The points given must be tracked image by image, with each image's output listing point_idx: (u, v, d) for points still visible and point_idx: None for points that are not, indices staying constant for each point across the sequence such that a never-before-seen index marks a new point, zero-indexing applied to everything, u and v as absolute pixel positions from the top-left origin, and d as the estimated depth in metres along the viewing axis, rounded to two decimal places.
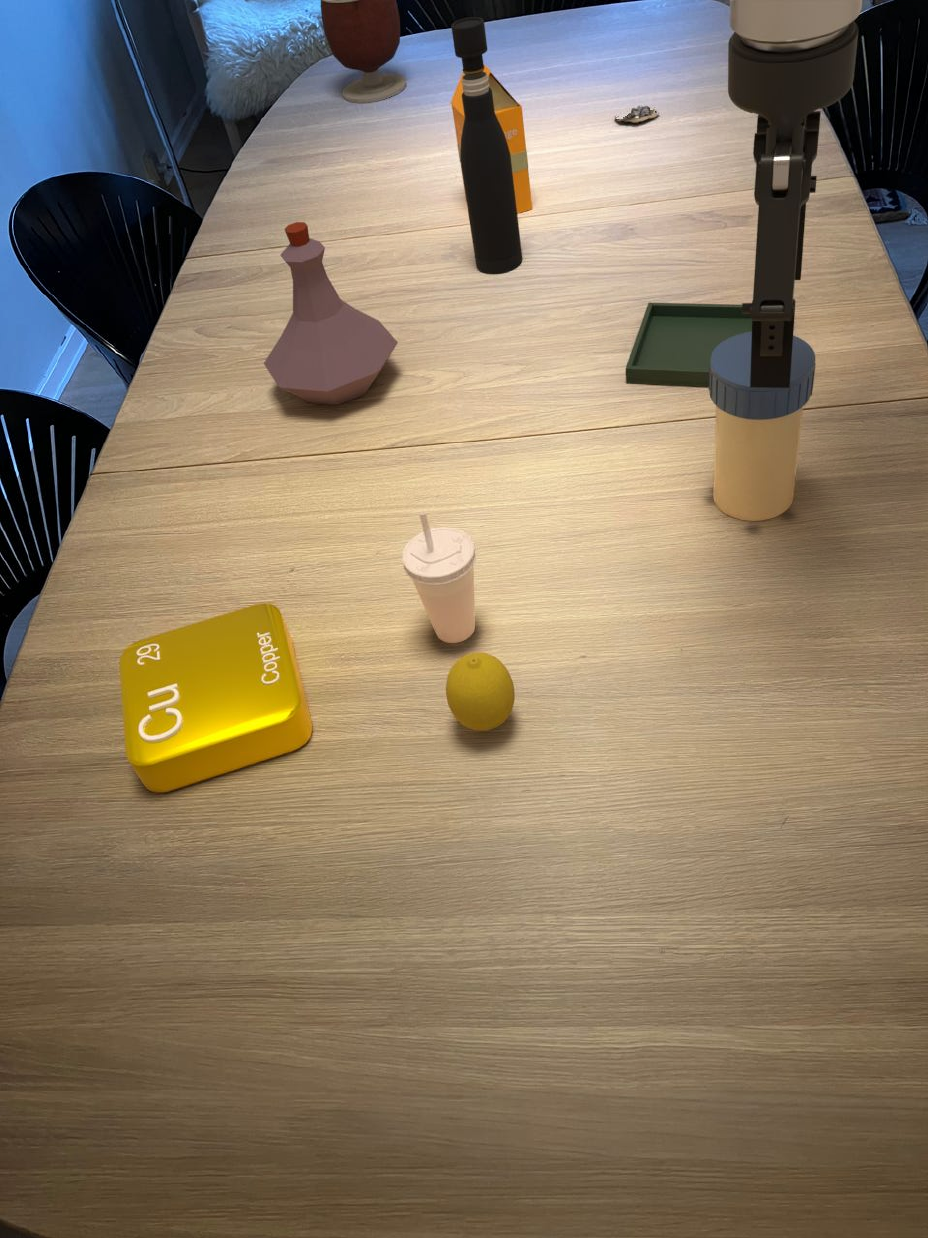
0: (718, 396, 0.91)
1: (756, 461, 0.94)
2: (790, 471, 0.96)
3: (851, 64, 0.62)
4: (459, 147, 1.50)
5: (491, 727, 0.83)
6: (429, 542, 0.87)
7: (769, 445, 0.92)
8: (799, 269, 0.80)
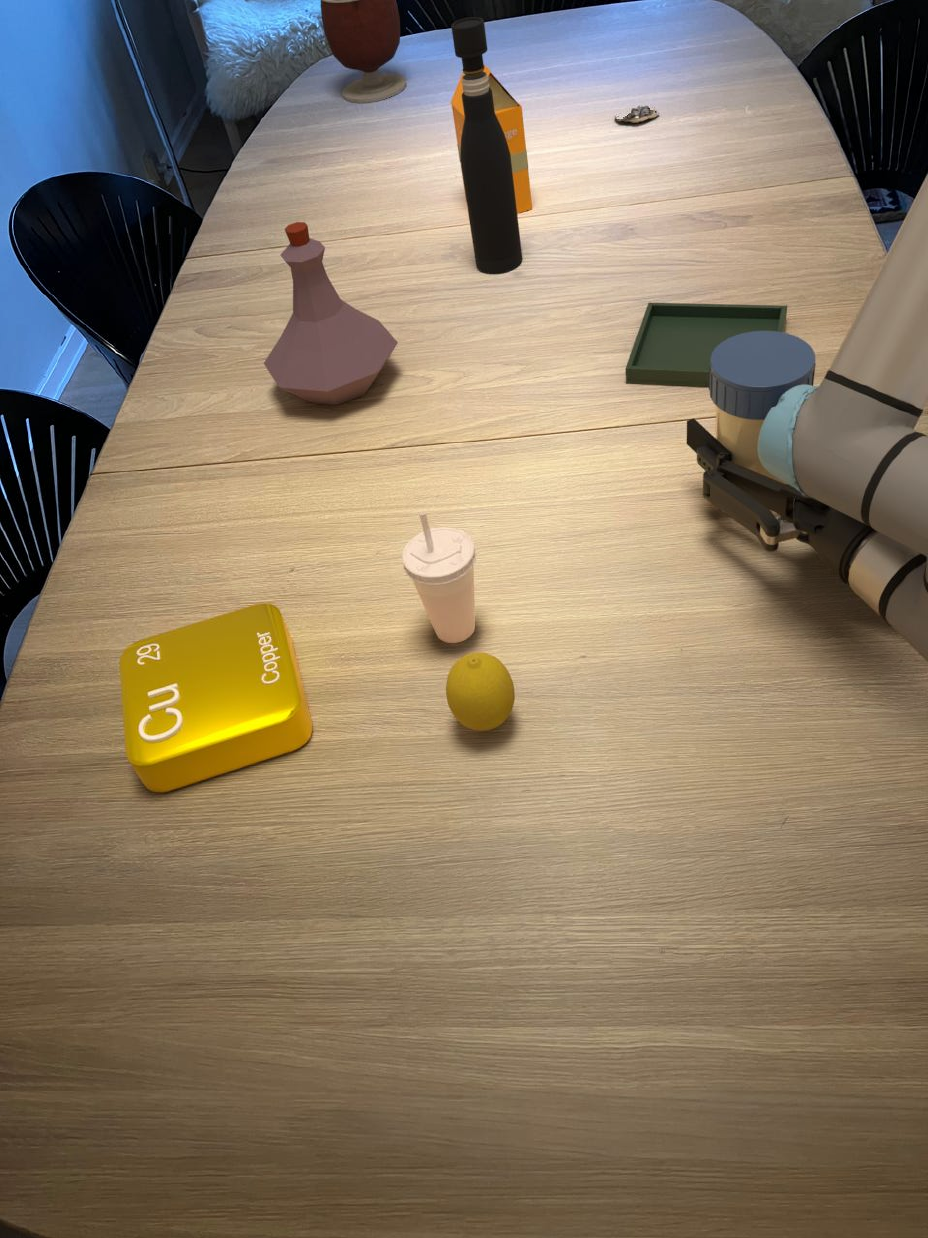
0: (718, 396, 0.91)
1: (756, 461, 0.94)
2: None
3: None
4: (459, 147, 1.50)
5: (491, 727, 0.83)
6: (429, 542, 0.87)
7: None
8: (699, 424, 0.98)
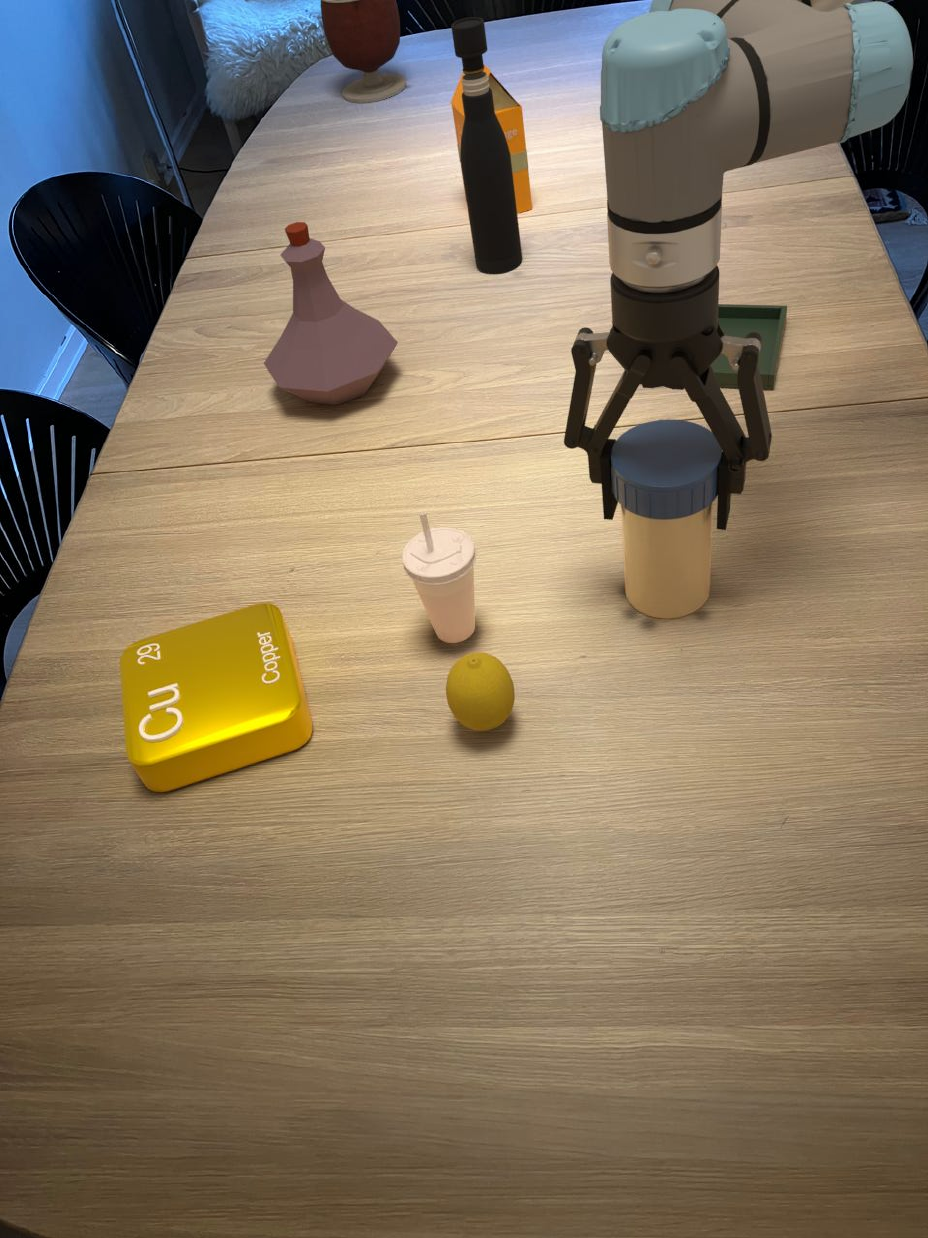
0: (619, 492, 0.84)
1: (663, 560, 0.87)
2: (701, 568, 0.89)
3: None
4: (459, 147, 1.50)
5: (491, 727, 0.83)
6: (429, 542, 0.87)
7: (675, 544, 0.85)
8: None
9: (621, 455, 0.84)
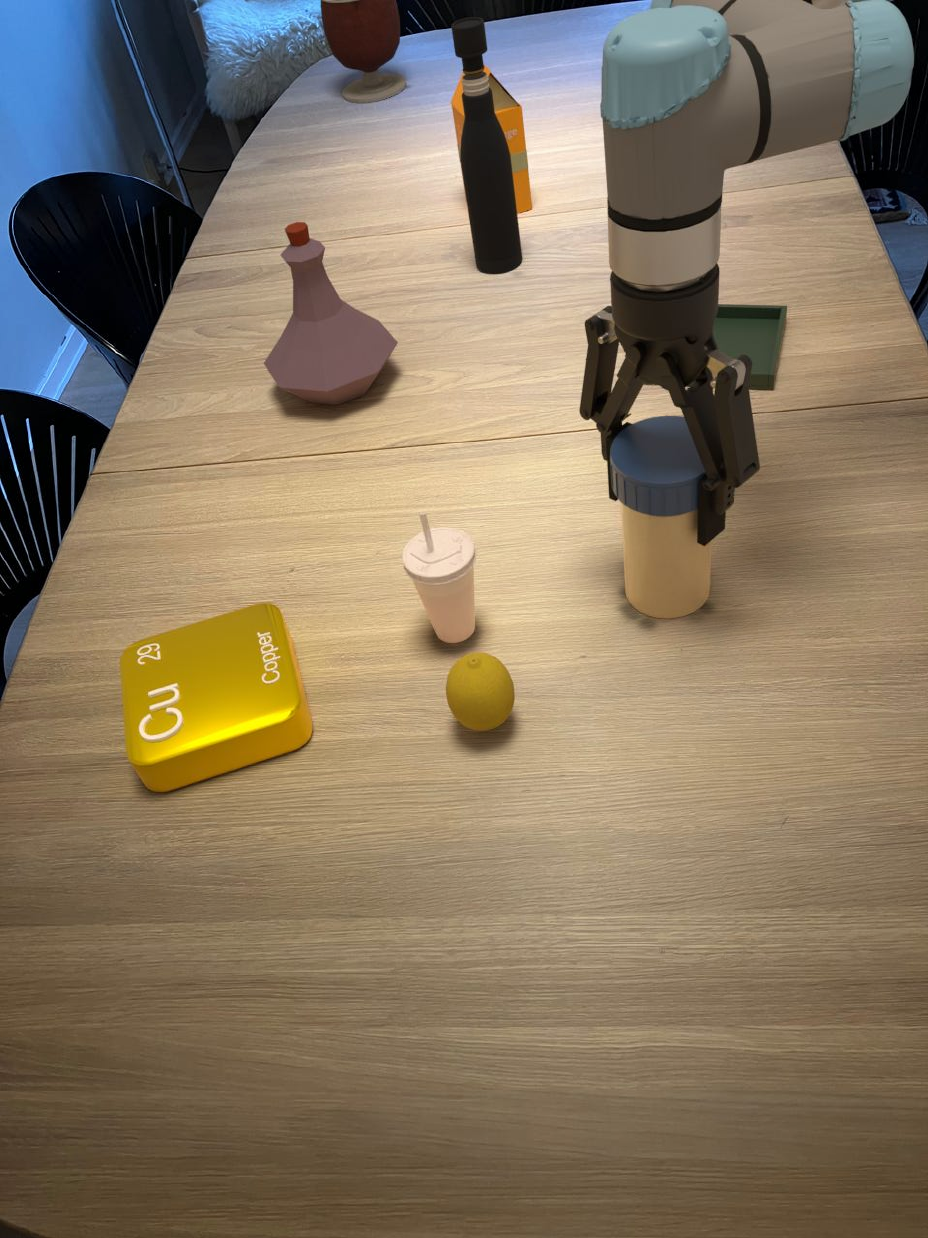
0: None
1: (663, 560, 0.87)
2: (701, 568, 0.89)
3: (617, 308, 0.72)
4: (459, 147, 1.50)
5: (491, 727, 0.83)
6: (429, 542, 0.87)
7: (675, 544, 0.85)
8: (698, 533, 0.84)
9: None
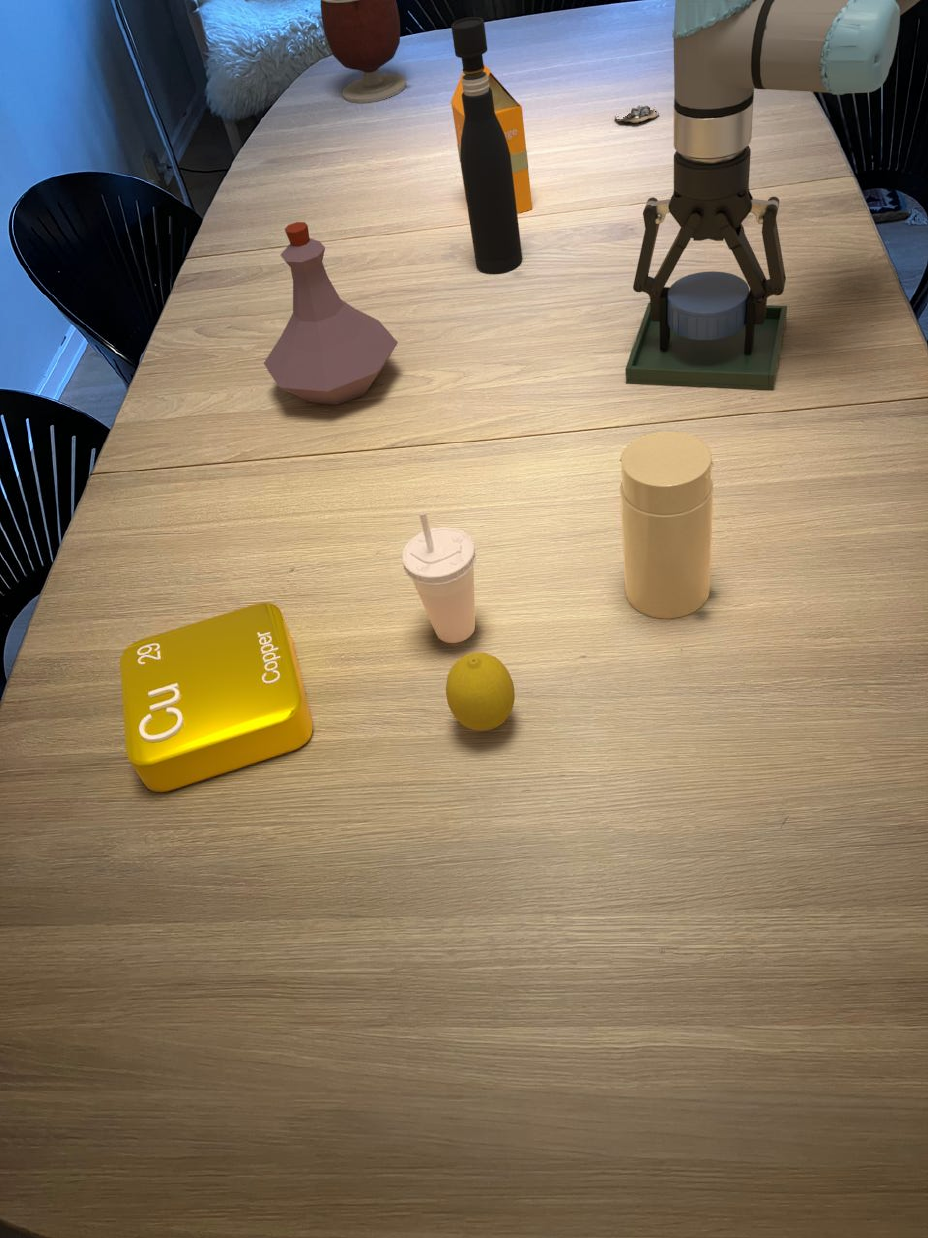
0: None
1: (663, 560, 0.87)
2: (701, 568, 0.89)
3: (693, 183, 1.02)
4: (459, 147, 1.50)
5: (491, 727, 0.83)
6: (429, 542, 0.87)
7: (675, 544, 0.85)
8: None
9: (740, 288, 1.14)
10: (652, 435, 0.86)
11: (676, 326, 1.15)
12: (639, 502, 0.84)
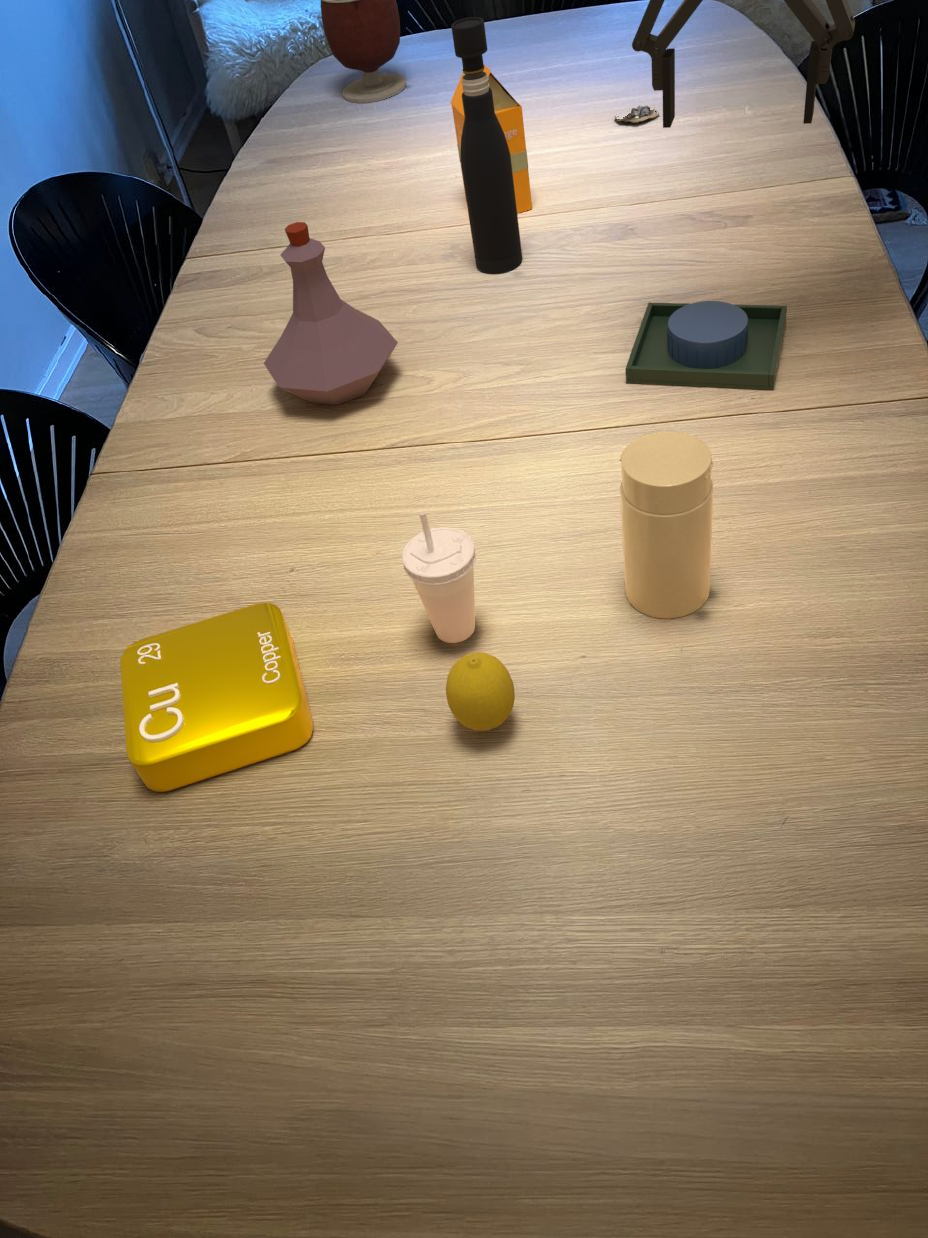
0: None
1: (663, 560, 0.87)
2: (701, 568, 0.89)
3: None
4: (459, 147, 1.50)
5: (491, 727, 0.83)
6: (429, 542, 0.87)
7: (675, 544, 0.85)
8: (804, 112, 1.00)
9: (739, 317, 1.16)
10: (652, 435, 0.86)
11: (676, 354, 1.17)
12: (639, 502, 0.84)
